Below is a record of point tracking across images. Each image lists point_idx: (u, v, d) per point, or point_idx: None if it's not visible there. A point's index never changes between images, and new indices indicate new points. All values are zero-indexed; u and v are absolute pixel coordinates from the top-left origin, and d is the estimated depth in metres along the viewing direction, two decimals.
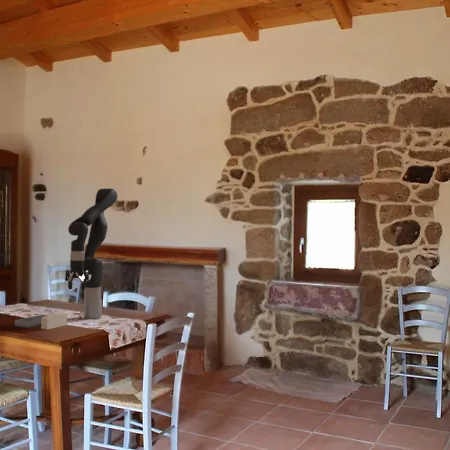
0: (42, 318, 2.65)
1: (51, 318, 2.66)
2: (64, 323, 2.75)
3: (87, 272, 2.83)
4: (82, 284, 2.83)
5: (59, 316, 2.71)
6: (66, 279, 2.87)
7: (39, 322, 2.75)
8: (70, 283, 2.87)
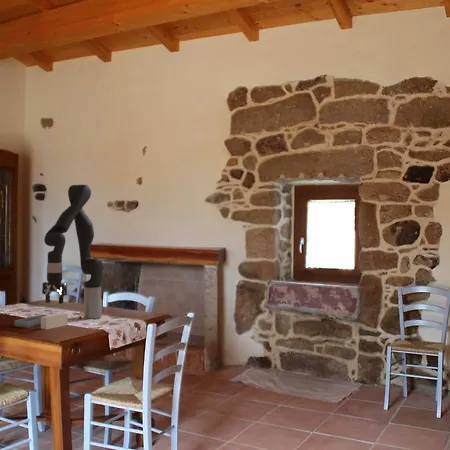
0: (41, 318, 2.66)
1: (50, 318, 2.66)
2: (64, 323, 2.74)
3: (65, 285, 2.68)
4: (60, 298, 2.68)
5: (59, 316, 2.71)
6: (43, 292, 2.72)
7: (39, 322, 2.75)
8: (47, 296, 2.72)
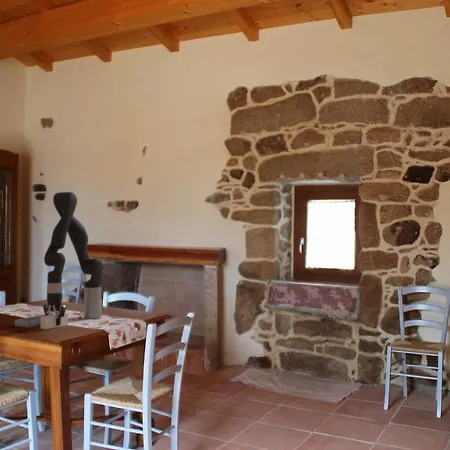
0: (41, 317, 2.66)
1: (50, 318, 2.66)
2: (65, 323, 2.74)
3: (64, 308, 2.68)
4: (57, 319, 2.69)
5: None
6: (46, 314, 2.72)
7: (39, 322, 2.75)
8: None
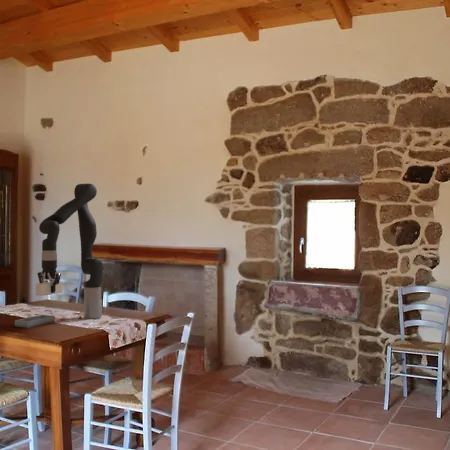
0: (36, 284, 2.67)
1: (45, 285, 2.68)
2: (59, 291, 2.76)
3: (59, 275, 2.70)
4: (52, 287, 2.71)
5: None
6: (41, 281, 2.73)
7: (39, 322, 2.75)
8: None
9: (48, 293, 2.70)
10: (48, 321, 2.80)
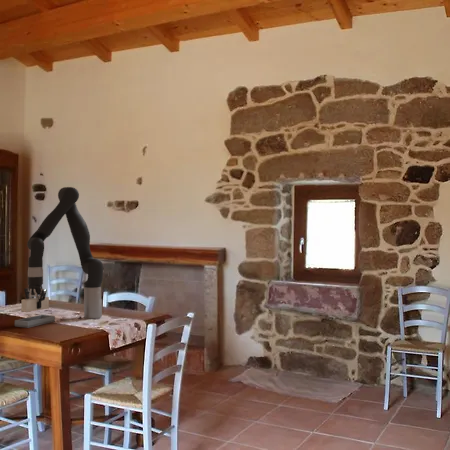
0: (22, 301, 2.72)
1: (31, 301, 2.73)
2: (45, 306, 2.81)
3: (45, 291, 2.75)
4: (38, 303, 2.76)
5: None
6: (27, 297, 2.78)
7: (39, 322, 2.75)
8: None
9: (34, 309, 2.75)
10: (48, 321, 2.80)
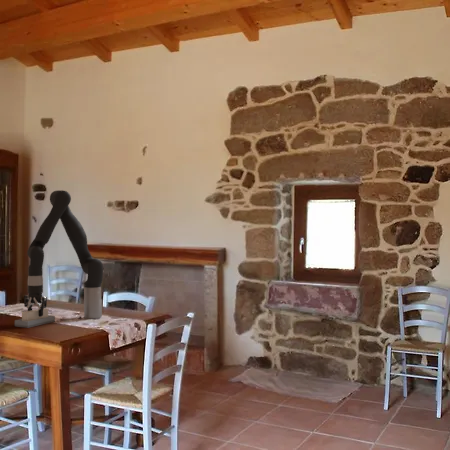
0: (22, 313, 2.72)
1: (31, 313, 2.73)
2: None
3: (45, 298, 2.75)
4: (39, 310, 2.75)
5: None
6: (25, 305, 2.79)
7: (39, 322, 2.75)
8: (29, 309, 2.79)
9: None
10: (48, 321, 2.80)
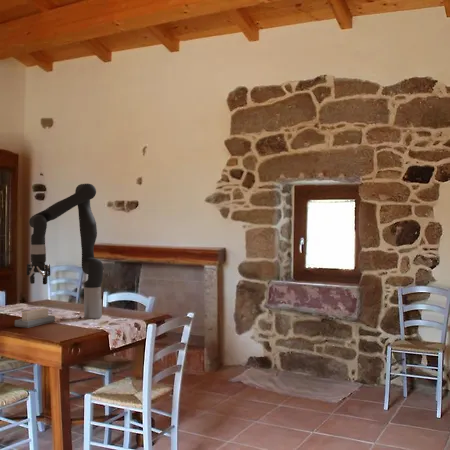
0: (22, 313, 2.72)
1: (31, 313, 2.73)
2: None
3: (48, 266, 2.76)
4: (44, 278, 2.76)
5: (40, 311, 2.78)
6: (28, 273, 2.80)
7: (39, 322, 2.75)
8: (32, 277, 2.80)
9: None
10: (48, 321, 2.80)
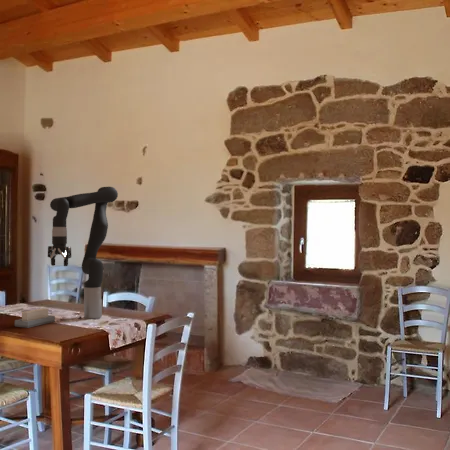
0: (22, 313, 2.72)
1: (31, 313, 2.73)
2: None
3: (69, 248, 2.80)
4: (65, 260, 2.80)
5: (40, 311, 2.78)
6: (49, 255, 2.84)
7: (39, 322, 2.75)
8: (53, 259, 2.84)
9: None
10: (48, 321, 2.80)
